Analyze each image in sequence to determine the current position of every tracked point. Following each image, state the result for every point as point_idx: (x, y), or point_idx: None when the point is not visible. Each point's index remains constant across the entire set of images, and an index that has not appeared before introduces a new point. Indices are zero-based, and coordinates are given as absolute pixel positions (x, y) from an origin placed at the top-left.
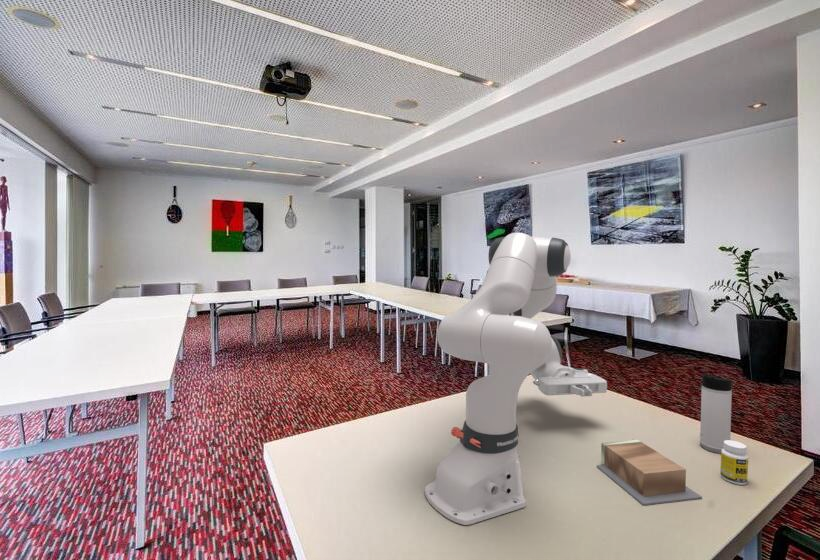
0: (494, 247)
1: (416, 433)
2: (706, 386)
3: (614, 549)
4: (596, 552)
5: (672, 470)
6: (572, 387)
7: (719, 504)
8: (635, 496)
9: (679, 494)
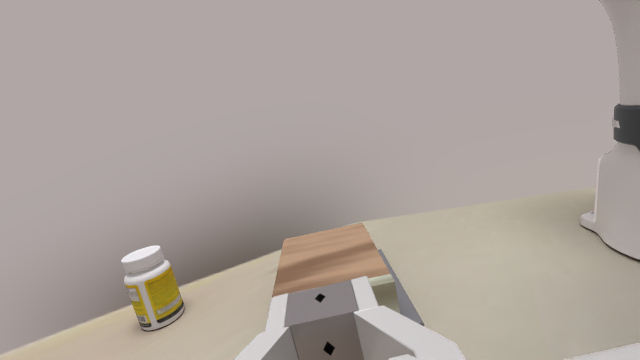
0: None
1: None
2: None
3: (449, 210)
4: (469, 206)
5: (309, 234)
6: (454, 348)
7: (268, 268)
8: (383, 257)
9: None
